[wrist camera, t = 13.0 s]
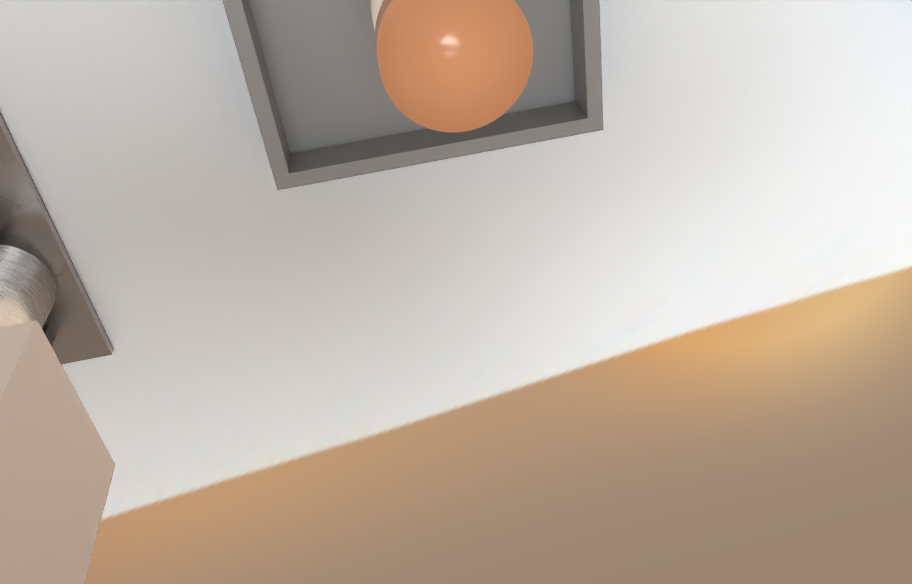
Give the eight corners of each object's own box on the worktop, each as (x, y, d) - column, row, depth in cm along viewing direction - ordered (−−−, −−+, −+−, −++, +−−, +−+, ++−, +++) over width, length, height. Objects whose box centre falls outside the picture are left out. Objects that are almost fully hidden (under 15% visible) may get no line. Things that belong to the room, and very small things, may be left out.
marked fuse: (376, 42, 30) (394, 144, 22) (352, -74, 28) (363, -7, 20) (482, 22, 31) (539, 117, 22) (467, -95, 28) (525, -38, 20)
